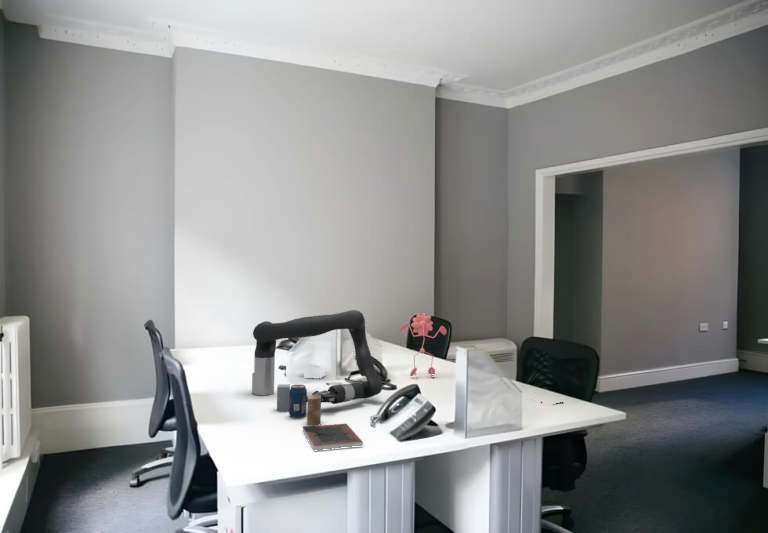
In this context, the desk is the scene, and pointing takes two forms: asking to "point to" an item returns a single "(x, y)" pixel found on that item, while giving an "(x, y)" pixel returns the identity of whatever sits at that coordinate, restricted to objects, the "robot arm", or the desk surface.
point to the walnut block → (314, 410)
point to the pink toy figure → (422, 327)
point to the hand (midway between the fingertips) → (306, 399)
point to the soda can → (298, 401)
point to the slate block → (283, 397)
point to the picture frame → (331, 436)
